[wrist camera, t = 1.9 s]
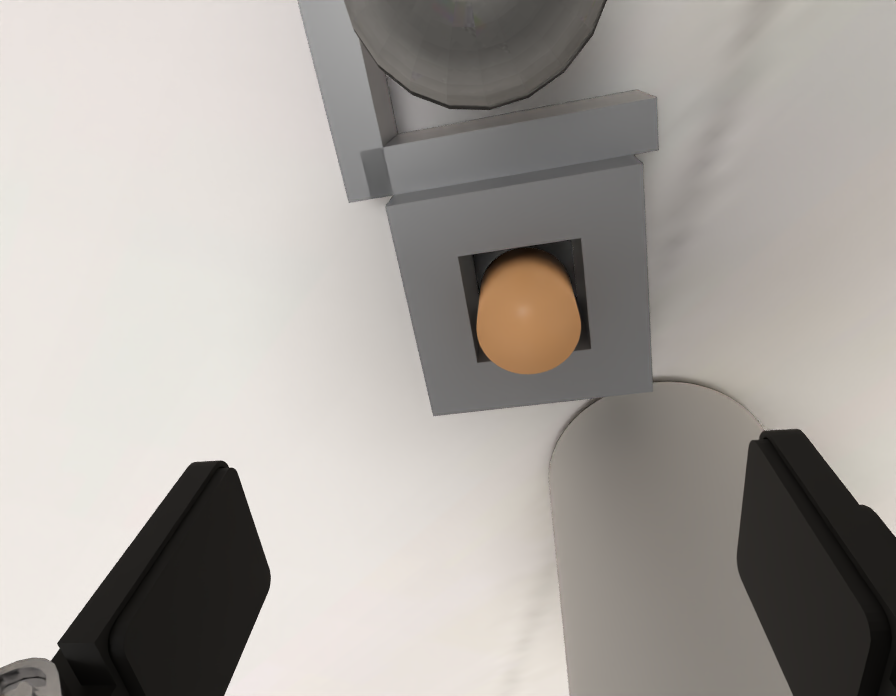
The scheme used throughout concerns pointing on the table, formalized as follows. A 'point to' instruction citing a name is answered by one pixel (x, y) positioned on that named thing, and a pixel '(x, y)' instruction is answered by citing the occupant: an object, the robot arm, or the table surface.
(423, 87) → the beverage cup
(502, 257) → the brown egg
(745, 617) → the cylinder vase
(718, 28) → the table surface
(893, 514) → the table surface
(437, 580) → the table surface
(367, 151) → the grey hollow tray
